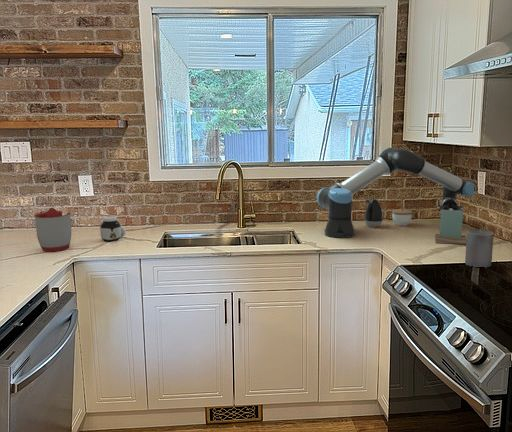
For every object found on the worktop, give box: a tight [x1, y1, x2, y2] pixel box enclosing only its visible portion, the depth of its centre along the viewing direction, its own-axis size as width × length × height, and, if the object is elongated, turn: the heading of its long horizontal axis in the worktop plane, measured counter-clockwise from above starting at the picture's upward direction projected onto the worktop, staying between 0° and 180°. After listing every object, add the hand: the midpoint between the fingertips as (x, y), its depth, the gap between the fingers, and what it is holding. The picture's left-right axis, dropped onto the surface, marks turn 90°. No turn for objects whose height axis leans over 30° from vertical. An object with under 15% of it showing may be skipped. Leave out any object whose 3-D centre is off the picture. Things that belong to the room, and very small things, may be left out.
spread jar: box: [99, 215, 127, 243], centre depth 242 cm, size 12×11×12 cm
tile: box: [439, 210, 464, 237], centre depth 236 cm, size 2×10×13 cm, turn 70°
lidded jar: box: [391, 208, 413, 227], centre depth 267 cm, size 11×11×9 cm
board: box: [434, 233, 467, 246], centre depth 232 cm, size 18×14×1 cm
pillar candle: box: [464, 228, 495, 269], centre depth 190 cm, size 10×10×15 cm
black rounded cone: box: [363, 198, 384, 228], centre depth 264 cm, size 10×10×15 cm
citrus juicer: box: [33, 207, 73, 253], centre depth 223 cm, size 16×17×20 cm
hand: (451, 213), depth 242 cm, fingers closed
